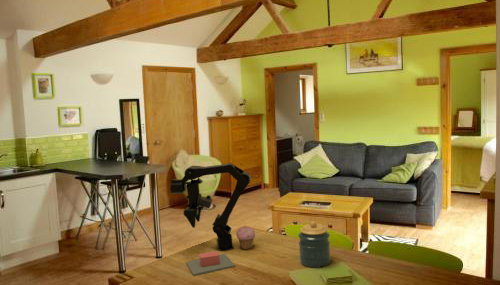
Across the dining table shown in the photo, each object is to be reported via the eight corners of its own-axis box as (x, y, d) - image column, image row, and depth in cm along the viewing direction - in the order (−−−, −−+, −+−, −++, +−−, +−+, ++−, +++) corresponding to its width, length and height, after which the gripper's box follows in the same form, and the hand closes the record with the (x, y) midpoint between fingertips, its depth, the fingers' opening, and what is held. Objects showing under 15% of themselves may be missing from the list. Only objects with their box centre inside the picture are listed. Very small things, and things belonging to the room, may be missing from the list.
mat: (225, 255, 187) (225, 253, 187) (234, 266, 174) (234, 265, 174) (186, 263, 181) (186, 261, 180) (193, 275, 168) (193, 274, 167)
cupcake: (234, 246, 197) (233, 226, 196) (250, 242, 200) (249, 223, 199) (242, 252, 189) (240, 231, 188) (258, 248, 192) (257, 228, 191)
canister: (330, 268, 166) (328, 226, 164) (298, 267, 169) (296, 226, 167) (330, 255, 179) (329, 216, 177) (301, 255, 181) (299, 216, 179)
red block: (200, 262, 179) (199, 253, 178) (218, 259, 180) (217, 251, 180) (201, 267, 174) (200, 258, 173) (220, 264, 175) (219, 255, 175)
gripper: (205, 197, 184) (208, 230, 186) (213, 187, 203) (216, 217, 205) (181, 198, 185) (184, 231, 187) (191, 188, 204) (194, 218, 206)
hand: (196, 224), depth 196 cm, fingers open, 9 cm apart
